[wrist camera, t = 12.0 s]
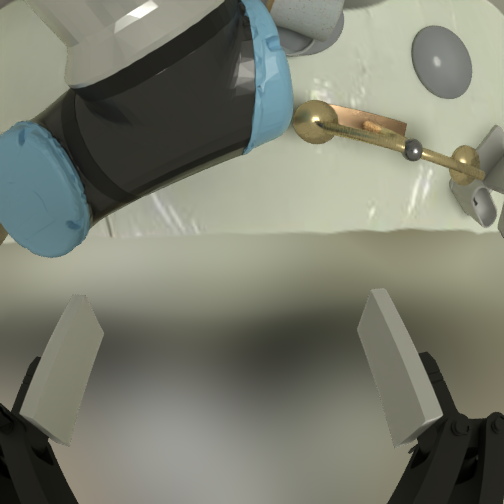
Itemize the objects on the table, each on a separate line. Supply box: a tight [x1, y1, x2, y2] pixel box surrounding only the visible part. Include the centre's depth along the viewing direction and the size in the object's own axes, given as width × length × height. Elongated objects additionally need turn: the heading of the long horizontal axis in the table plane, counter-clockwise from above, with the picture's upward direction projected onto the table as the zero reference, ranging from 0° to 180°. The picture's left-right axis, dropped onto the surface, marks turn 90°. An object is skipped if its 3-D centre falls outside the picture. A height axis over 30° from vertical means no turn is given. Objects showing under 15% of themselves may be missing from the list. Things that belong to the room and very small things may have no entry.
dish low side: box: [260, 0, 344, 55], centre depth 27 cm, size 12×12×1 cm
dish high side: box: [412, 26, 472, 99], centre depth 29 cm, size 12×12×1 cm
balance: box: [293, 100, 485, 186], centre depth 29 cm, size 23×5×16 cm, turn 84°
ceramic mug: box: [265, 0, 344, 56], centre depth 24 cm, size 10×8×7 cm
